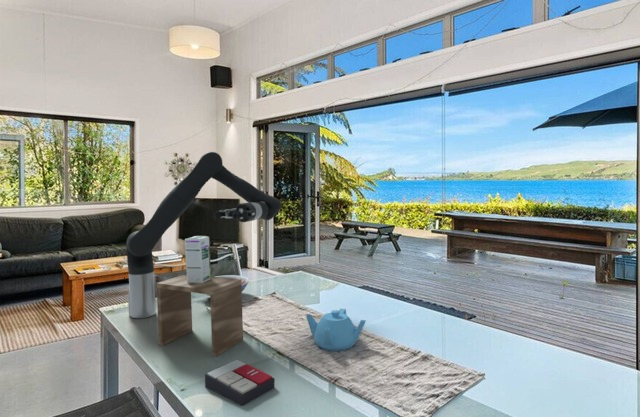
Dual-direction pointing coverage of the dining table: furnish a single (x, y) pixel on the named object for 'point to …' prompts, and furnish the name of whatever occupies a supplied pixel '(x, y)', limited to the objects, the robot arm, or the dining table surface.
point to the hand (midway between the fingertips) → (223, 215)
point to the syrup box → (198, 259)
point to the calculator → (239, 382)
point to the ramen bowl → (243, 279)
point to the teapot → (335, 330)
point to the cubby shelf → (179, 310)
